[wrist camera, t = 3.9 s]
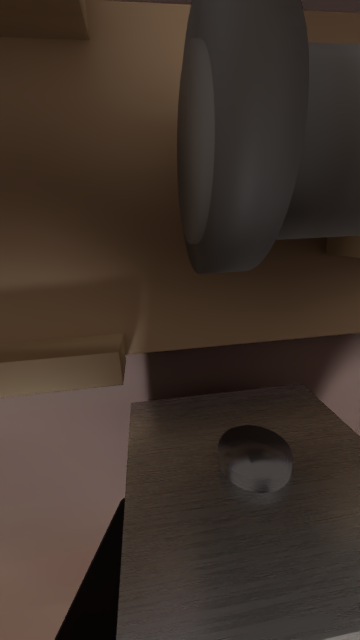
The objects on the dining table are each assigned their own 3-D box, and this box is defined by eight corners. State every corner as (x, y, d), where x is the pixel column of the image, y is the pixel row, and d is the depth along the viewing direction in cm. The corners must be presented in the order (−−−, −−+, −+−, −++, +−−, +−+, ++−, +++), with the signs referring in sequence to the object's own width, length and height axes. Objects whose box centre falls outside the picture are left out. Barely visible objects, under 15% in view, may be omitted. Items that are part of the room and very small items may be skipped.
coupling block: (288, 515, 10) (429, 785, 5) (146, 540, 9) (151, 871, 4) (303, 374, 8) (538, 576, 3) (129, 393, 7) (109, 671, 3)
